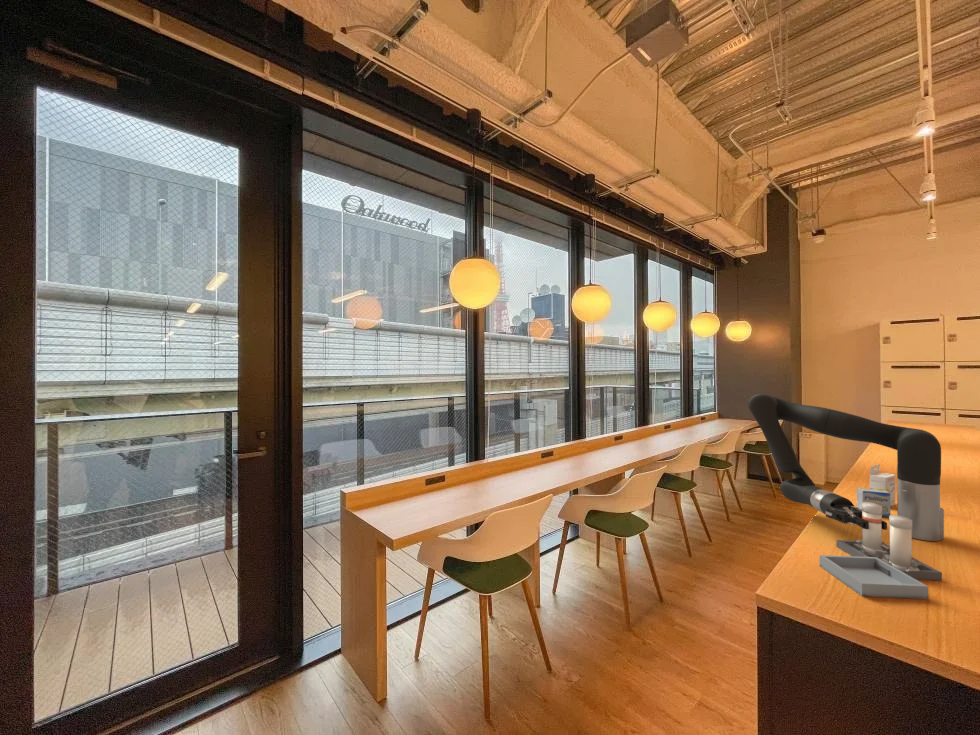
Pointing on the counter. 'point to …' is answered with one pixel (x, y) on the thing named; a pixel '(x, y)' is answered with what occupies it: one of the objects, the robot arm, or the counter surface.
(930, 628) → the counter surface
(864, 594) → the tray
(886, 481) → the ink box
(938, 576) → the clip holder
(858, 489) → the medicine box
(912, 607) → the counter surface
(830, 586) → the counter surface
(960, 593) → the counter surface
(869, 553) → the banded white cylinder
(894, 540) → the fuse
